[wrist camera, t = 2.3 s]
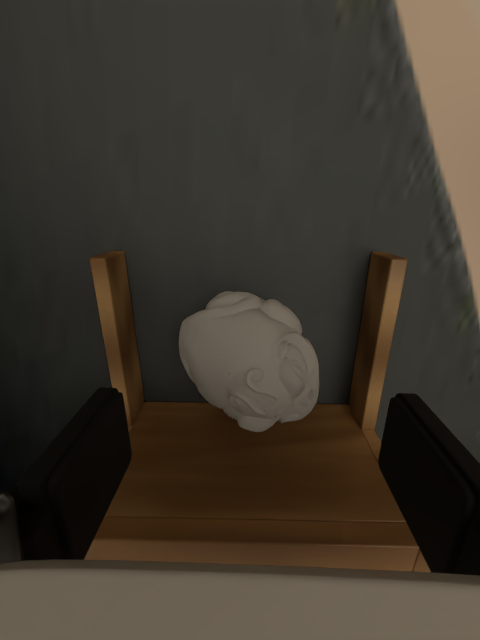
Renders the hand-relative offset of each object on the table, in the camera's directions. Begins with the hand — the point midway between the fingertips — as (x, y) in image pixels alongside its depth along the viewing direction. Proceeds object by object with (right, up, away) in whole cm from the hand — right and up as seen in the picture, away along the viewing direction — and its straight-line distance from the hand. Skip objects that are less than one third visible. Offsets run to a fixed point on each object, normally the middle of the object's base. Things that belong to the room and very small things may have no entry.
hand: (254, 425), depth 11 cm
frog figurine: (0, +3, +8) cm, 9 cm away
